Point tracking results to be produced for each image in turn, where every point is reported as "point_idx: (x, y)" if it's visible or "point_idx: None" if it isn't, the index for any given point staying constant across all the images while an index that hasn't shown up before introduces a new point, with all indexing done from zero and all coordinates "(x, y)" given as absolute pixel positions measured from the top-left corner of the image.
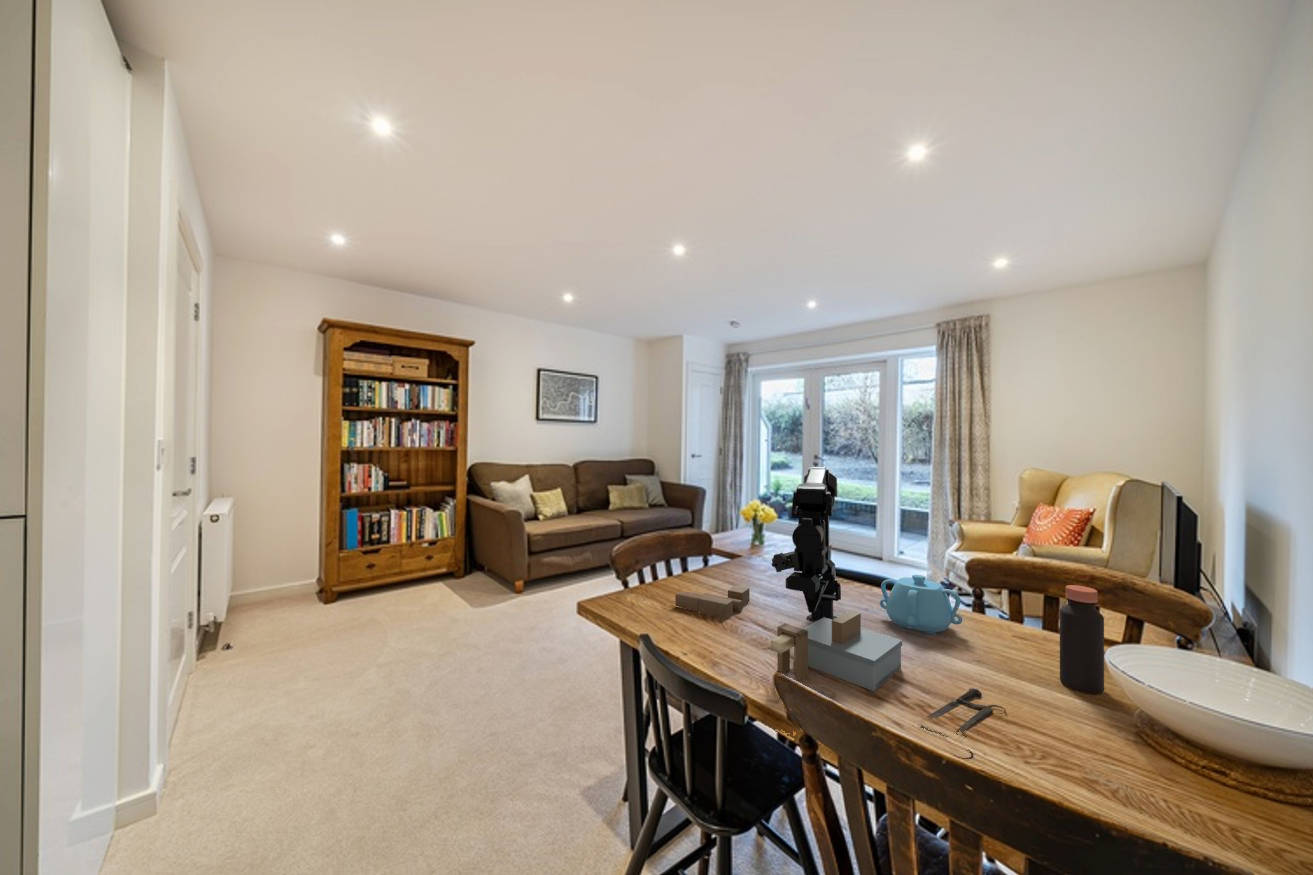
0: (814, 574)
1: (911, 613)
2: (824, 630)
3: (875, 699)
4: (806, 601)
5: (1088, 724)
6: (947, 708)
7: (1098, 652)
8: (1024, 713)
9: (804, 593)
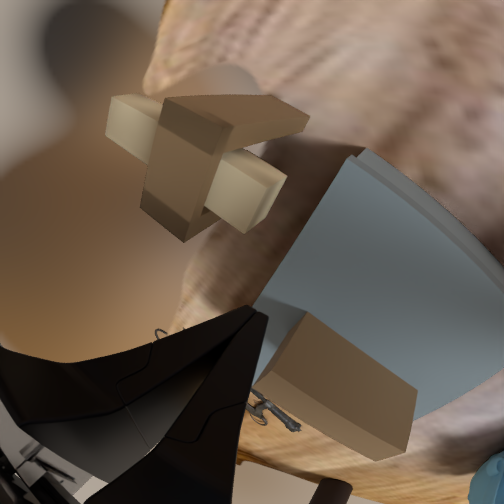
0: (13, 475)
1: (494, 478)
2: (410, 313)
3: (226, 305)
4: (175, 336)
5: (264, 450)
6: None
7: None
8: (265, 431)
9: (104, 362)
